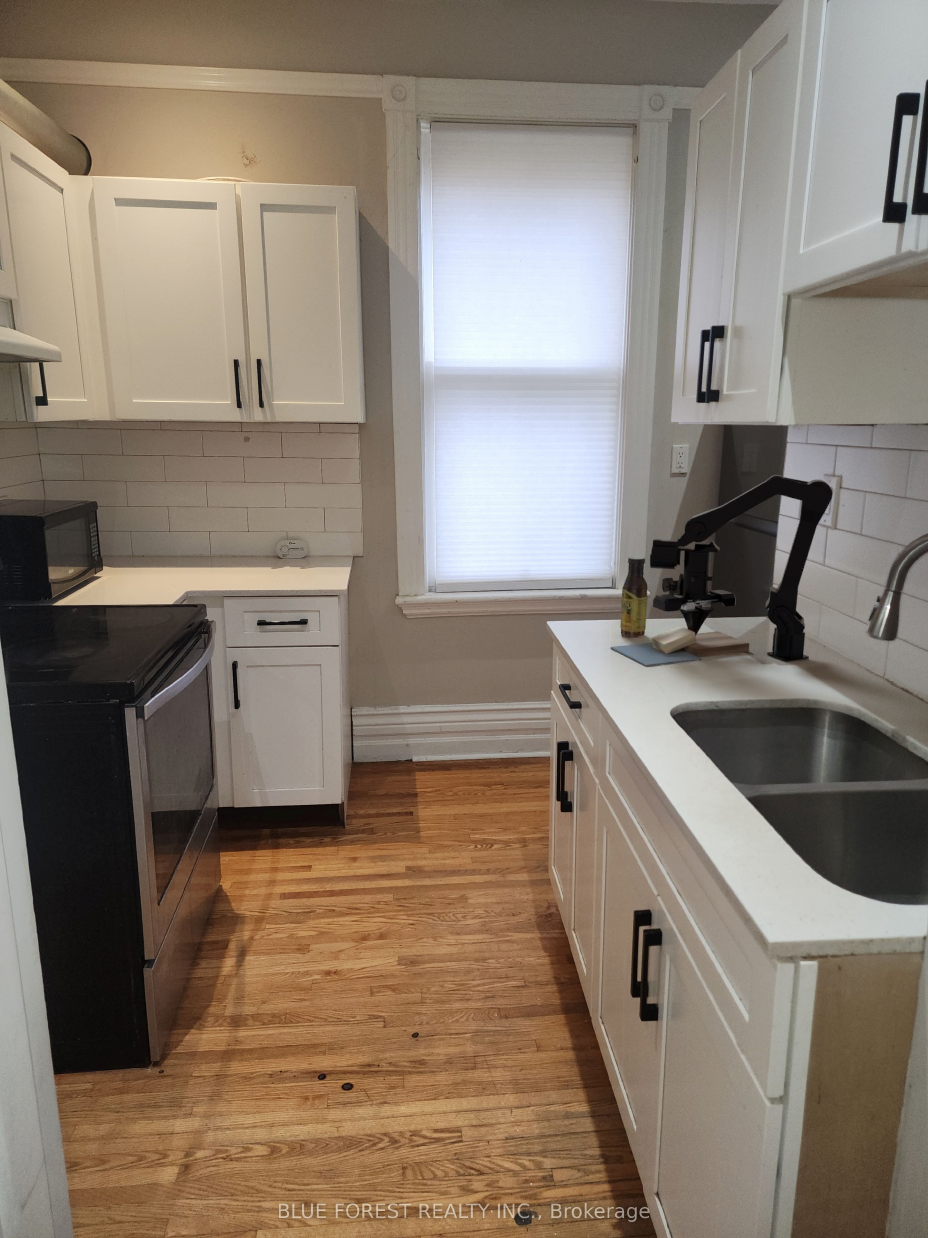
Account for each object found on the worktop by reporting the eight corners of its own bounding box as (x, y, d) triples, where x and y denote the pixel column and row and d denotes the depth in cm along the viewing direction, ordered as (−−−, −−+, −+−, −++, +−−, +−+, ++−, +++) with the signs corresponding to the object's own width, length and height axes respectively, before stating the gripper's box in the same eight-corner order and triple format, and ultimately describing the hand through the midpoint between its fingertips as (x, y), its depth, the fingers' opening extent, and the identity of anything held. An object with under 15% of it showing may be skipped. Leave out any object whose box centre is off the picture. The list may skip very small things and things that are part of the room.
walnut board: (748, 651, 187) (749, 643, 187) (696, 657, 183) (697, 649, 182) (717, 639, 198) (717, 631, 198) (667, 644, 194) (667, 636, 193)
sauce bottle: (616, 633, 206) (618, 555, 201) (639, 631, 207) (642, 554, 202) (626, 639, 200) (628, 559, 195) (649, 637, 201) (653, 558, 196)
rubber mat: (701, 660, 181) (701, 658, 181) (645, 666, 177) (645, 664, 177) (662, 642, 196) (662, 641, 196) (610, 648, 191) (610, 646, 191)
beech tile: (696, 642, 186) (694, 632, 185) (666, 654, 184) (663, 644, 184) (683, 635, 192) (681, 626, 191) (653, 647, 190) (651, 637, 189)
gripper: (710, 562, 195) (706, 625, 199) (642, 567, 190) (639, 632, 193) (739, 570, 185) (734, 636, 189) (667, 575, 179) (664, 643, 183)
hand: (692, 636), depth 189 cm, fingers closed
